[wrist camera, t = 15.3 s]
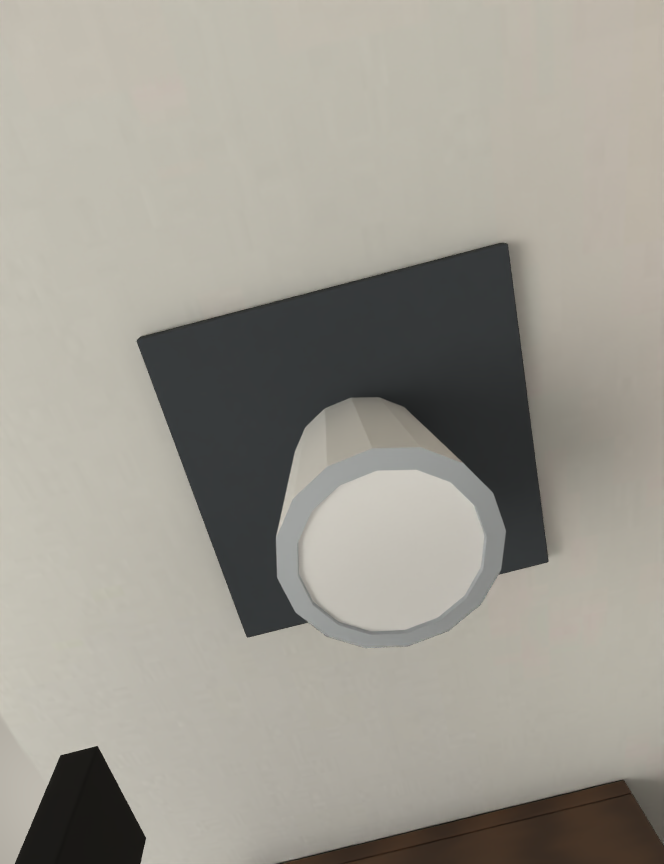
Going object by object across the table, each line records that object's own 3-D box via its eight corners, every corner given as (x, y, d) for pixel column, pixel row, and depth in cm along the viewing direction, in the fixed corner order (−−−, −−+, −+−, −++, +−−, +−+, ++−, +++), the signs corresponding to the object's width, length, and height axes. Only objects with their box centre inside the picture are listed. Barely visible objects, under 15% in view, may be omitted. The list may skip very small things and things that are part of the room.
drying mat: (247, 629, 26) (246, 638, 26) (139, 336, 22) (135, 339, 21) (543, 555, 26) (549, 562, 26) (502, 242, 21) (508, 242, 21)
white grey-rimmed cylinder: (265, 524, 24) (256, 638, 17) (295, 366, 22) (297, 428, 15) (422, 547, 25) (470, 663, 18) (466, 397, 23) (539, 468, 16)
